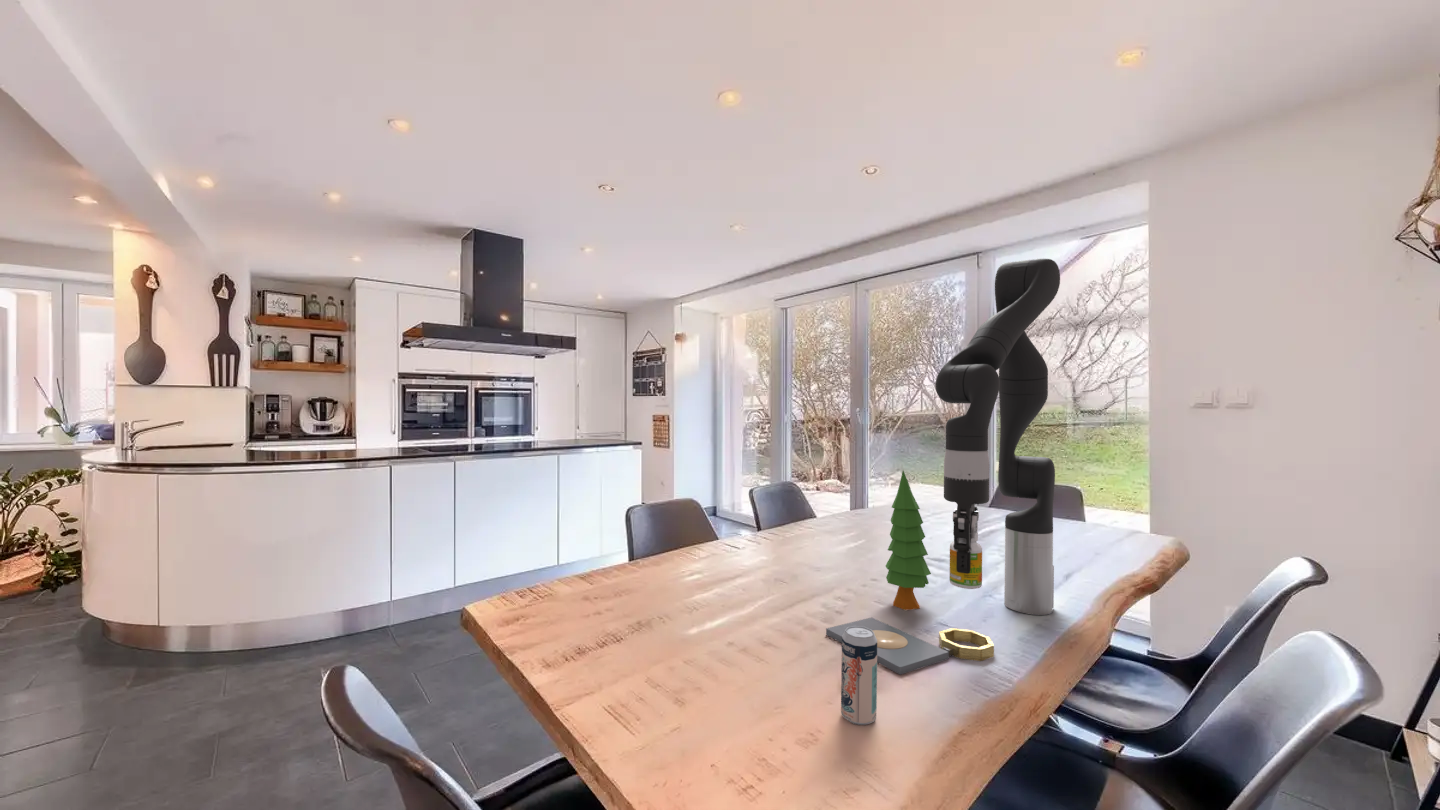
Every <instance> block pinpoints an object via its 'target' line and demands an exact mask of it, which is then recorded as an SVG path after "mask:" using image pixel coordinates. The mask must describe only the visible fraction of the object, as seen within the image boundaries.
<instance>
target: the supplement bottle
mask: <svg viewBox="0 0 1440 810" xmlns="http://www.w3.org/2000/svg"><path fill="white" fill-rule="evenodd" d="M978 541H979V532H978V531H975V539H974V540H972V542H971V548H972V551H971V568H970V573H968V574H966V573H959V572H957V570H956V566H957V551H956V550H955V549H954V547H953V545H954V540H953V541H951V542H950V544H949V582H950V584H951V585H952V586H954V587H957V588H961V589H965V590H975V589H980V588H981V587H982V586H983V547H982V545H981V544H980V543H979V542H978ZM959 543H963V544H966V539H963V538H961V539H960V541H959Z"/></svg>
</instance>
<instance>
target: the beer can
mask: <svg viewBox="0 0 1440 810" xmlns="http://www.w3.org/2000/svg"><path fill="white" fill-rule="evenodd" d="M840 673H841V680H840V681H841V685H840V686H841V687H840V693H841V694H840V696H841V697H840V713H841V716H842V717H843V719H845V720H847V722H849V723H851V724H853V725H857V726H858V725H859V726H866V725H867V726H868V725H869V724H871V723H874V722H875V721H876V719H877V700H878V699H877V693H878V663H877V638H876V636H875V634H874V632H873V631H872V630H871V629H868V628H865V627H860V626H852V627H848V628H847V629H846V630H845V632H844V634H843V635H842V643H841V672H840Z"/></svg>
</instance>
